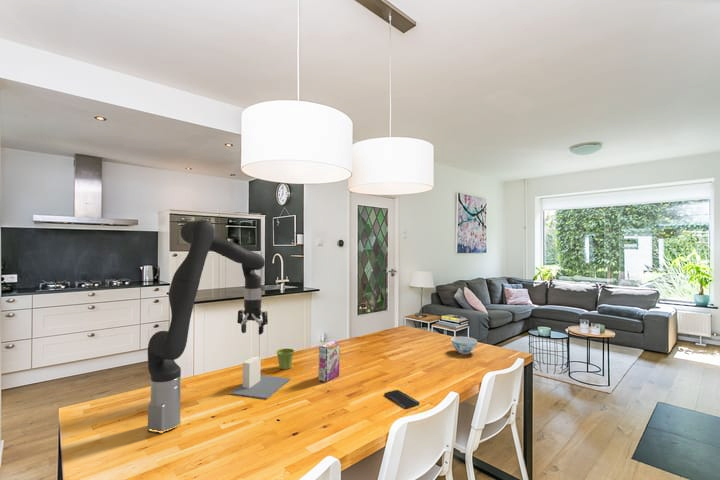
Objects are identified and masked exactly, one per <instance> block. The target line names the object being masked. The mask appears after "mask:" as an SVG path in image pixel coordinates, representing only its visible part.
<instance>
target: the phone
mask: <svg viewBox="0 0 720 480" xmlns="http://www.w3.org/2000/svg"><path fill="white" fill-rule="evenodd" d="M383 396H384V397H385V398H387V399H389V400H390V401H391V402H393V403H395V404H397V405H398V406H400V407H402V408H403V409H405V410H406V409H407V410H408V409H411V408H414V407H418V406H419V405H420V401H419V400H416V399H415V398H413V397H411V396H409V395H408V394H406V393H404V392H402V391H401V390H398V389H395V390H390V391H388V392H384V395H383Z"/></svg>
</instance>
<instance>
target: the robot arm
mask: <svg viewBox="0 0 720 480" xmlns="http://www.w3.org/2000/svg"><path fill="white" fill-rule="evenodd" d="M180 237H181V238H182V240H183V241H184V242H185V243H186V244H190V246H189V250H188V253H187V255H186V257H185V258H184V260H183V261H182V262H181V264H180V265H179V266H178V268H177V269H176V270H175V272H174V274H173V276H172V279H171V282H170V283H171V284H170V286H169V290H168V302H169V306H170V310H171V311H170V312H171V318H170V319H171V320H170V324H169V327H168V328H169V329H168V330H159V331H157V332H154V334H153V335H151V337H150V339H149V341H148V344H147V366H148V367H147V368H148V373H149V375H150V402H149V403H148V404H147V430H148V429H152V430H157V431H164V430H167V429H170V428H173V427H175V426H177V425H178V424H179V423H180V424H181V388H182V387H181V380H182V379H181V378H182V377H181V376H182V375H181V374H182V369H181V367H180V365H178V363H177V362H176V361H175V360H177V359H179V358H180V357H181V356H182V355H183V353H184V351H185V350H186V347H187V343H188V337H189V329H190V322H191V317H192V313H193V309H194V305H195V300H196V297H197V294H198V290H199V285H200V283H201V282H200V281H201V277H202V274H203V270H204V267H205V263H206V260H207V256H208V254H209V252H210V251H212V252H213V253H216V254H219V255H221V256H223V257H225V258H227V259H229V260H230V261H232V262H234V263H237V264H241V269H242V273H243V278H244V292H243V293H244V295H243V296H244V297H243V299H244V301H243V309H239V310H238V311H237V324H240V325H241V328H240V330H241V333H242V334H246V333H247V322H248V321H252V322H253V321H254V322H256V323H257V325H258V335H259V336H261V335H262V334H263V333H264V329H265V328H264V326H265V325H268V323H269V321H268V311H267V310H265V311H262V309H261V308H262V277H261V276H260V275H258V274H257V273H256V271H259V270H262V269H263V268H264V267H265V265H266V261H265V259H264V257H263V256H262V255H261V254H259V253H257V252H254V251H252V250H249V249H246V248H244V247H243V246H241V245H239V244H237V243H235V242H232V241H229V240H227V239H224V238H221V237H219V236H218V237H217V236H215V228H214V225H213V224H212V223H211V221H208V220H204V219H203V220H202V219H201V220H192V221H188V222H185V223H184V224H183V225H182V226H181V228H180Z"/></svg>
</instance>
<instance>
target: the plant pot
mask: <svg viewBox="0 0 720 480" xmlns="http://www.w3.org/2000/svg"><path fill="white" fill-rule="evenodd" d="M295 351H296V350H294V348H280V349H277V350H276V351H275V353H276V355H277V359H278V368H279V369H280V370H284V369H285V370H289V369H291V368H292V363H293V357H294V353H295Z"/></svg>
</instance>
